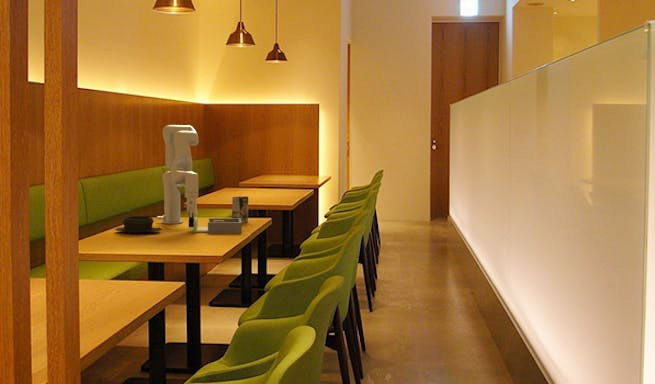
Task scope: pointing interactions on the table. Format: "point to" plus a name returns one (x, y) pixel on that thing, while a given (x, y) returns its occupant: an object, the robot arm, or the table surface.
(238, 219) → the frame
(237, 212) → the coffee box
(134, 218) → the casserole
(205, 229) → the tray
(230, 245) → the table surface
